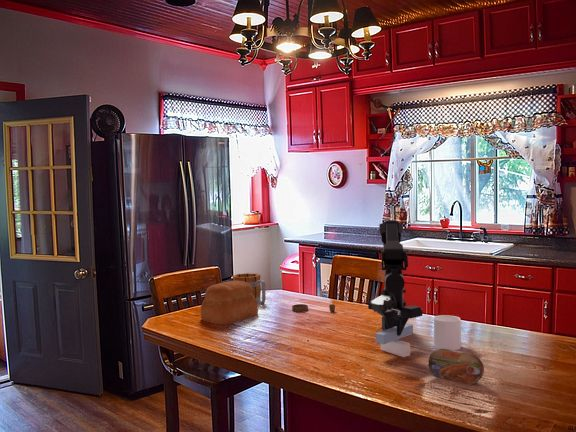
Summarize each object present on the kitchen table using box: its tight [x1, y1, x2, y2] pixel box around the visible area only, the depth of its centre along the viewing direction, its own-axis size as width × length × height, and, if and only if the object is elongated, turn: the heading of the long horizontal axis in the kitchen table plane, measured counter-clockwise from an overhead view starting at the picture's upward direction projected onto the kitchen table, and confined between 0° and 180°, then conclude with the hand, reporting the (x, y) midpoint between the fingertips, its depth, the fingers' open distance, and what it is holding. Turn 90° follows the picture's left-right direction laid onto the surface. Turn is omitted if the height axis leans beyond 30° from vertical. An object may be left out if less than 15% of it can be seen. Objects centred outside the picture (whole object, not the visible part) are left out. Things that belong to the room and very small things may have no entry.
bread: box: [200, 280, 259, 326], centre depth 217 cm, size 18×22×17 cm
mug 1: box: [231, 272, 267, 305], centre depth 244 cm, size 20×14×15 cm
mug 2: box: [432, 314, 462, 351], centre depth 172 cm, size 9×12×11 cm
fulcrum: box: [380, 339, 411, 358], centre depth 166 cm, size 11×12×5 cm
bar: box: [375, 323, 414, 345], centre depth 166 cm, size 16×3×3 cm, turn 133°
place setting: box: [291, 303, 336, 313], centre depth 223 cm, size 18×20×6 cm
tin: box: [428, 349, 485, 386], centre depth 143 cm, size 15×3×8 cm, turn 51°
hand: (394, 334), depth 166 cm, fingers closed on bar, 3 cm apart
